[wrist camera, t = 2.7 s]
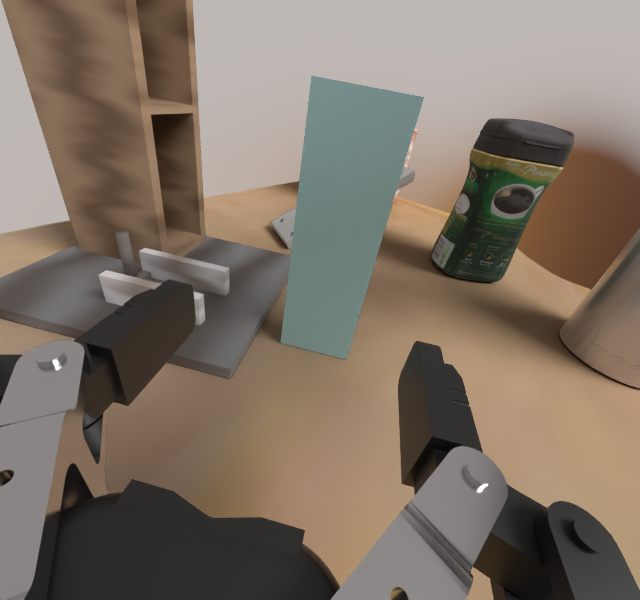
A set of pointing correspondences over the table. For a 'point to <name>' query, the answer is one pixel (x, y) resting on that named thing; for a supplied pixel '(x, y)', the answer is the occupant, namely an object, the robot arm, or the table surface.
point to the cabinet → (130, 178)
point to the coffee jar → (499, 196)
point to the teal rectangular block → (343, 207)
